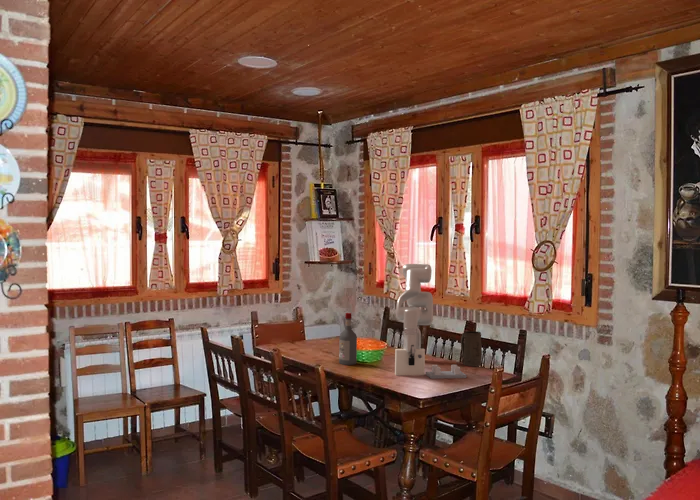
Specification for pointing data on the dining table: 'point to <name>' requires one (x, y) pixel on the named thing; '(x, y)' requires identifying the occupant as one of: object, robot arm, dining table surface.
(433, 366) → the hinge plate
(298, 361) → the dining table surface
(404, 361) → the cabinet door
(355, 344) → the liquor
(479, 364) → the beer stein
